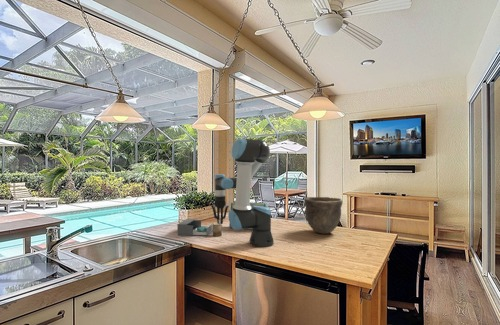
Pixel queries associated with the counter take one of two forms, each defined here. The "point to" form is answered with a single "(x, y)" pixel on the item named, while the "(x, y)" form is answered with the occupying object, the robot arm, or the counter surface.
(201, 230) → the disc
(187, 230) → the box
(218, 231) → the post
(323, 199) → the clay pot
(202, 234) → the tray
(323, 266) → the counter surface
